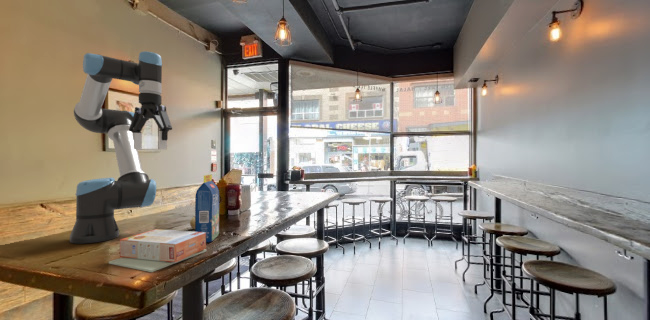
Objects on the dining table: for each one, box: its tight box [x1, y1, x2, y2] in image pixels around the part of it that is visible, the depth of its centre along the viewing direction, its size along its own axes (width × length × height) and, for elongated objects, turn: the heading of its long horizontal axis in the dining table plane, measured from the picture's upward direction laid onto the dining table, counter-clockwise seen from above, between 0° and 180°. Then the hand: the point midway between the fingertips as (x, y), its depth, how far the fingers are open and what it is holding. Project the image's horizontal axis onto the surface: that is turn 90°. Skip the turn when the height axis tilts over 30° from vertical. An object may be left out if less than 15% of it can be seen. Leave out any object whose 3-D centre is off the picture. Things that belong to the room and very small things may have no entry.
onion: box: [189, 216, 195, 231], centre depth 130 cm, size 8×8×7 cm
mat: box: [108, 248, 208, 273], centre depth 92 cm, size 18×20×1 cm
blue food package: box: [194, 174, 220, 243], centre depth 115 cm, size 6×12×25 cm, turn 8°
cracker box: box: [119, 228, 207, 264], centre depth 94 cm, size 14×6×21 cm
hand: (150, 149), depth 111 cm, fingers open, 13 cm apart
